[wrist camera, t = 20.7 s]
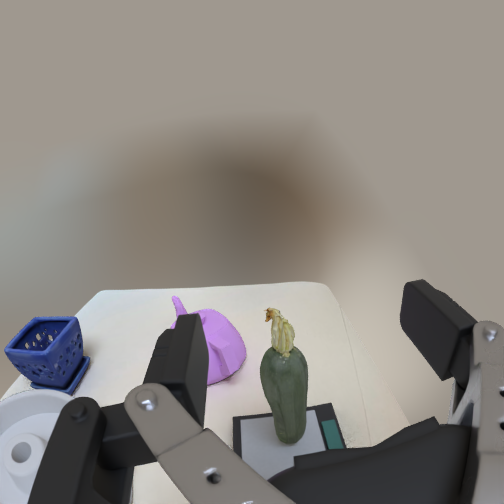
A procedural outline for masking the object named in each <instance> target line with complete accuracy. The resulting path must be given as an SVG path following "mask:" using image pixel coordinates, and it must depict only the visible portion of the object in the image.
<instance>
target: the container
mask: <svg viewBox="0 0 504 504" xmlns="http://www.w3.org/2000/svg"><path fill="white" fill-rule="evenodd" d="M73 399H75V398H74V397H72V396H70V395H68V394H66V393H63V392H60V391H56V390H49V389H35V390H28V391H23V392H20V393H17V394H14V395H12V396H9V397H7V398H5V399H3V400H2V401H0V504H27V503H28V499H29V496H30V492H31V489H32V486H33V483H34V480H35V477H36V474H37V471H38V468H39V465H40V462H41V460H42V457H43V454H44V451H45V449H46V446H47V443H48V441H49V438H50V436H51V433H52V431H53V428H54V426H55V424H56V421H57V419H58V416H59V414H60V412H61V410H62V408H63V407H64V406H65V405H66V404H67V403H68V402H69V401H71V400H73ZM131 503H132V487H131V495H130V503H129V504H131Z"/></svg>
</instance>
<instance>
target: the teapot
mask: <svg viewBox="0 0 504 504" xmlns="http://www.w3.org/2000/svg"><path fill="white" fill-rule="evenodd" d="M172 301H173V303H174V305H175V309H176V315H177V318H178V315H183V314H187V312H186V310H185V308H184V306H183V305H182V303H181V301H180V299H179V298H178V297H177V296H173V297H172ZM193 313H199V315H200V317H201V321H202V325H203V330H204V334H205V338H206V342H207V346H208V351H209V369H208V380H207V385H209V384H213V383H216V382H219V381H221V380H223V379H225V378H227V377H228V376H230V375H231V374H233V373H234V372H235V371H237V370H238V369H240V366H241V365H242V363H243V362H244V360H245V358H246V348H245V345H244V342H243V340H242V337H241V336H240V334H239V333H238V331H237V330H236V329H235V327H234V326H233V325H232V324H231V323H230V322H229V320H228V319H227V318H226V317H225V316H223V315H222V314H220V313H219V312H217V311H215V310H212V309H204V310H199V311H196V312H193ZM193 313H190V314H193ZM175 324H176V322H174V323H173V324H172V326H171V329H174V328H175Z"/></svg>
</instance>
